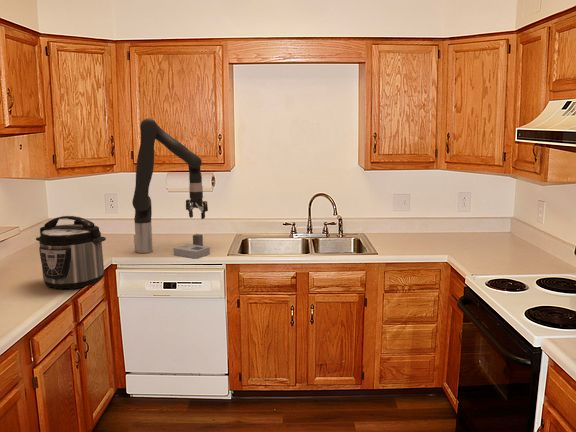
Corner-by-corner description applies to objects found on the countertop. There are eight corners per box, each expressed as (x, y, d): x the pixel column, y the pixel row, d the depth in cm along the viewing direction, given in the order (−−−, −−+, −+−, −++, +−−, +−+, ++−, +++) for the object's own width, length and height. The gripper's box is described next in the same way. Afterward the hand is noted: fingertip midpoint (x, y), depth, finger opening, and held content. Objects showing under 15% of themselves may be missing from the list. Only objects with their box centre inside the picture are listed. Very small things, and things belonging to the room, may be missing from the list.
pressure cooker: (30, 282, 266) (24, 216, 260) (87, 269, 286) (82, 208, 280) (57, 296, 245) (51, 225, 239) (116, 282, 265) (112, 216, 259)
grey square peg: (193, 248, 328) (192, 235, 327) (197, 247, 332) (197, 233, 330) (198, 249, 326) (198, 235, 325) (202, 247, 330) (202, 234, 328)
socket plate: (173, 255, 314) (173, 247, 313) (187, 250, 324) (187, 243, 323) (196, 258, 306) (196, 251, 305) (209, 253, 316) (209, 246, 315)
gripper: (182, 190, 323) (183, 218, 326) (201, 192, 316) (202, 220, 319) (190, 188, 329) (191, 216, 332) (210, 190, 322) (210, 218, 325)
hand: (197, 218), depth 326 cm, fingers open, 8 cm apart
